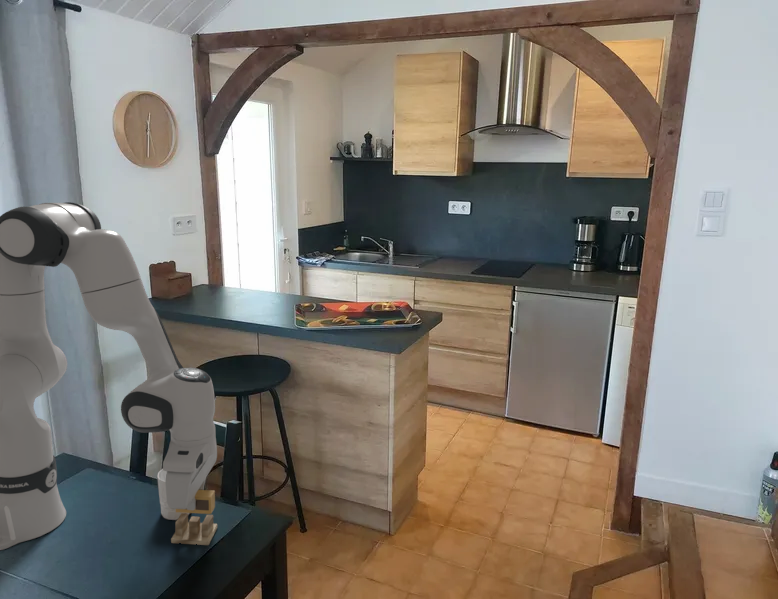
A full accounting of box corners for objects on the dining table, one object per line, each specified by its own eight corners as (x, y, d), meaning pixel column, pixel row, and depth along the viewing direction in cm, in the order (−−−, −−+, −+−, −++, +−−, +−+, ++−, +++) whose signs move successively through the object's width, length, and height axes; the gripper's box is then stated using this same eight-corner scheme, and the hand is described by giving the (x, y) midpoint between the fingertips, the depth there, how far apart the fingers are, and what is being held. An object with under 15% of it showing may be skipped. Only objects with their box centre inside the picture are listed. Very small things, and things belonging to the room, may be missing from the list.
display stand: (171, 543, 117) (170, 526, 116) (181, 525, 123) (181, 509, 122) (208, 545, 117) (208, 528, 116) (217, 527, 123) (217, 511, 122)
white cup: (182, 524, 123) (181, 484, 121) (151, 518, 125) (149, 479, 122) (201, 504, 131) (200, 467, 129) (171, 499, 132) (170, 461, 130)
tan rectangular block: (175, 512, 117) (174, 495, 116) (180, 505, 120) (179, 488, 119) (211, 514, 117) (210, 497, 116) (215, 506, 120) (214, 490, 119)
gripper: (196, 421, 125) (197, 476, 128) (158, 468, 105) (161, 531, 108) (223, 423, 125) (224, 477, 128) (191, 469, 105) (193, 532, 108)
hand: (195, 502), depth 118 cm, fingers closed on tan rectangular block, 3 cm apart
